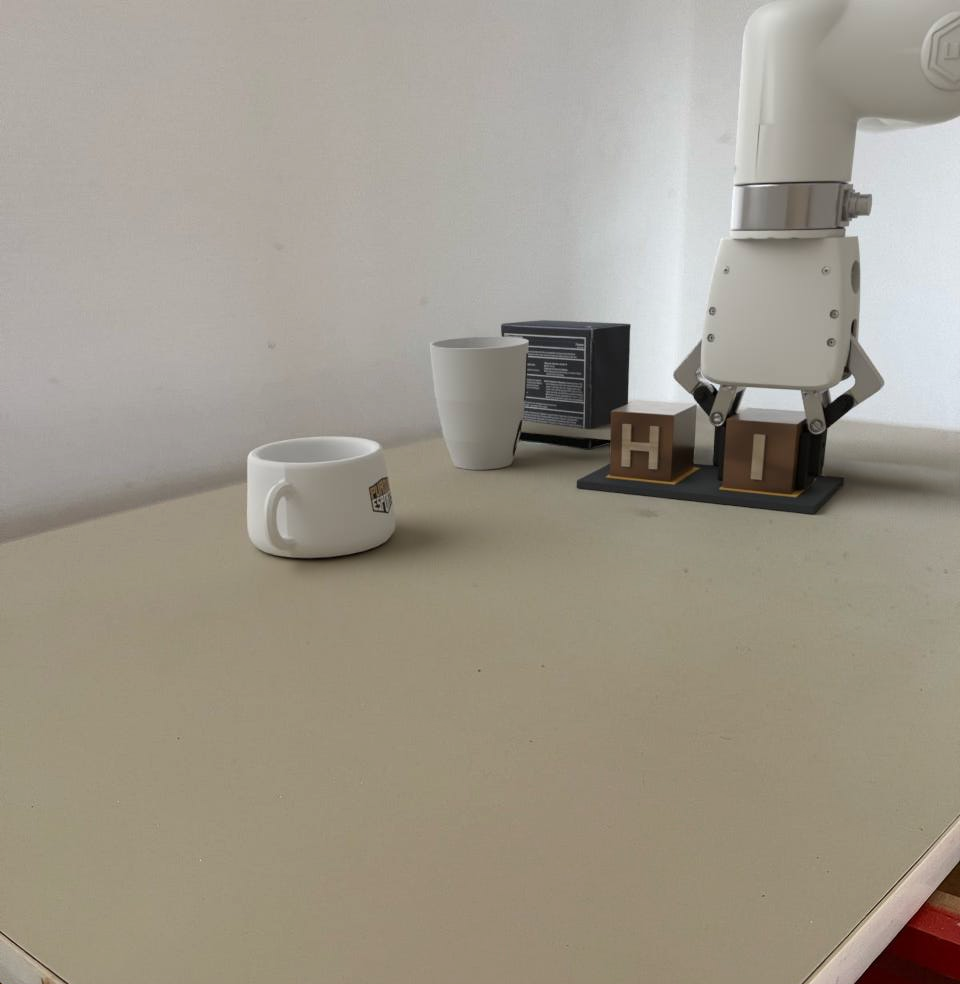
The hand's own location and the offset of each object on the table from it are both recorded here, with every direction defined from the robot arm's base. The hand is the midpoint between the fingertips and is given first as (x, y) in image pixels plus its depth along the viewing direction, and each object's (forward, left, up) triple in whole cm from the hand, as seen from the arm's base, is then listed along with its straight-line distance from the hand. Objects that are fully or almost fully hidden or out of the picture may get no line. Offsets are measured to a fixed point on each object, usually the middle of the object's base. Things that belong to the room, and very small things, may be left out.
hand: (765, 478), depth 76 cm
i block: (0, 0, 0) cm, 0 cm away
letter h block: (+9, 0, 0) cm, 9 cm away
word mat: (+4, 0, -1) cm, 4 cm away
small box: (+22, -12, -1) cm, 25 cm away
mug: (+22, +25, -1) cm, 33 cm away
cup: (+24, 0, -1) cm, 24 cm away
